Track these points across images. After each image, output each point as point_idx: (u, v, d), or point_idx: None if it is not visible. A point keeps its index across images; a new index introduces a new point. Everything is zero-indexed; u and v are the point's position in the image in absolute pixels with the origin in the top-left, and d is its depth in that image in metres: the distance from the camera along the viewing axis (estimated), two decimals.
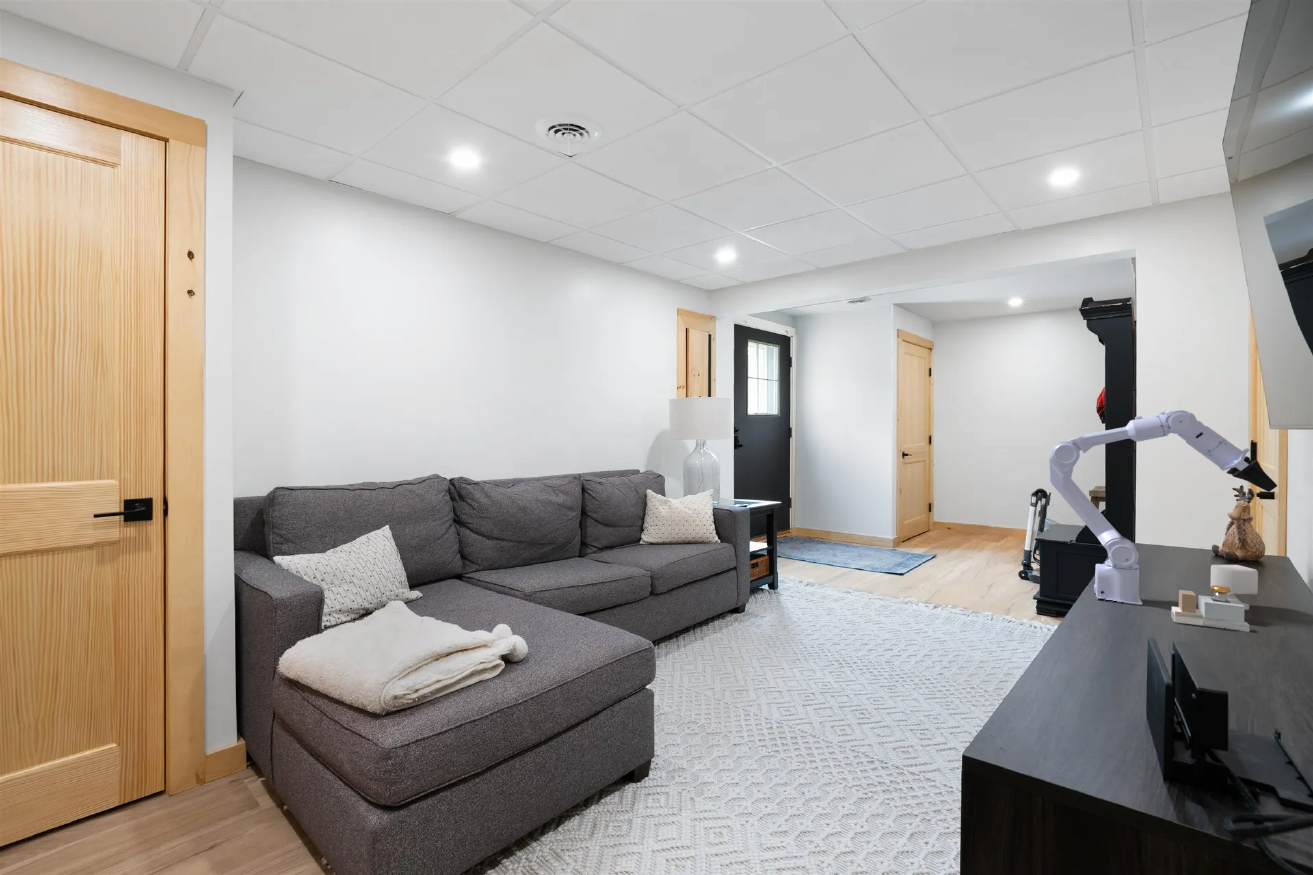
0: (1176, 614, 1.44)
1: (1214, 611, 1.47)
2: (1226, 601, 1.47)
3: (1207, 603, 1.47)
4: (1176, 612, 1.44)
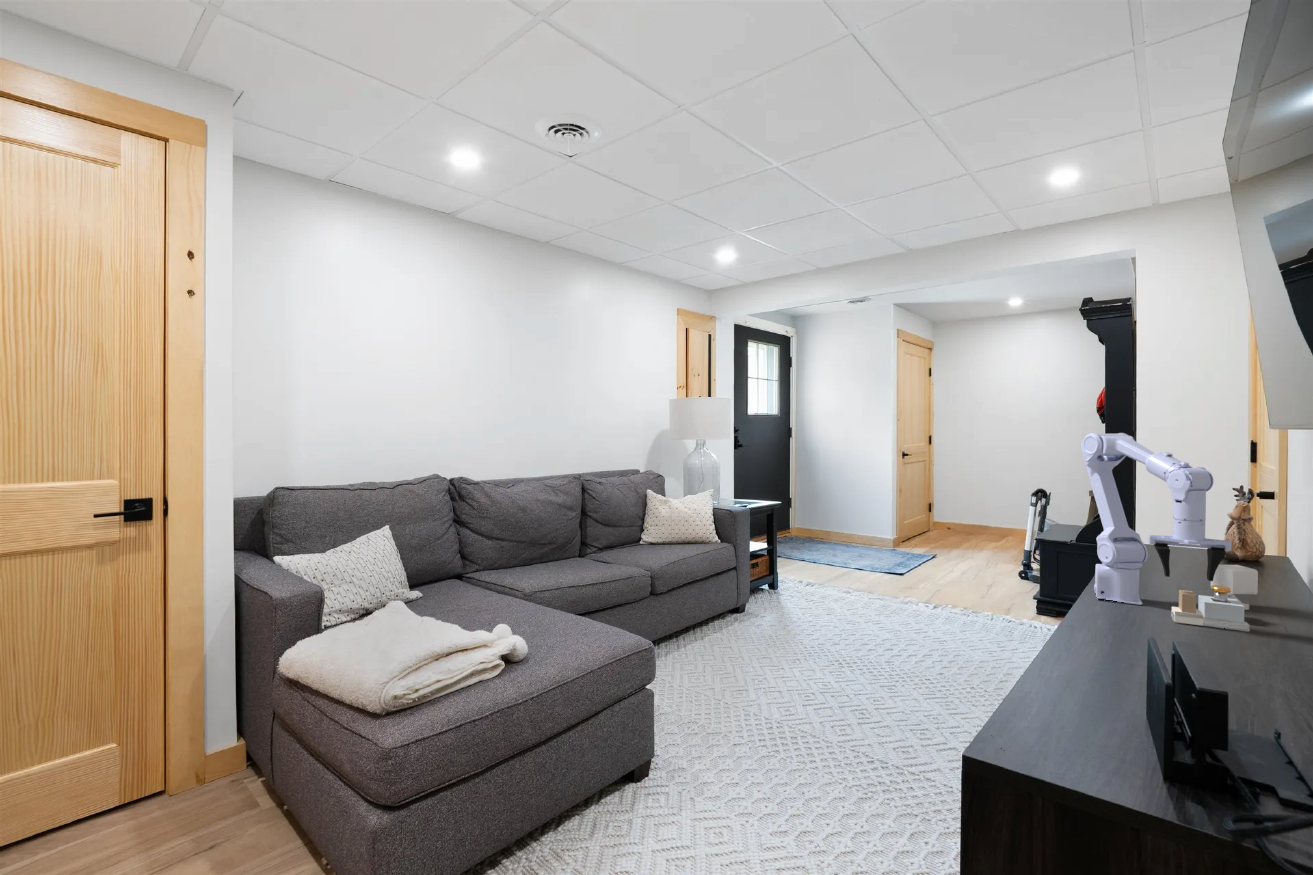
0: (1176, 614, 1.44)
1: (1214, 611, 1.47)
2: (1226, 601, 1.47)
3: (1207, 603, 1.47)
4: (1176, 612, 1.44)
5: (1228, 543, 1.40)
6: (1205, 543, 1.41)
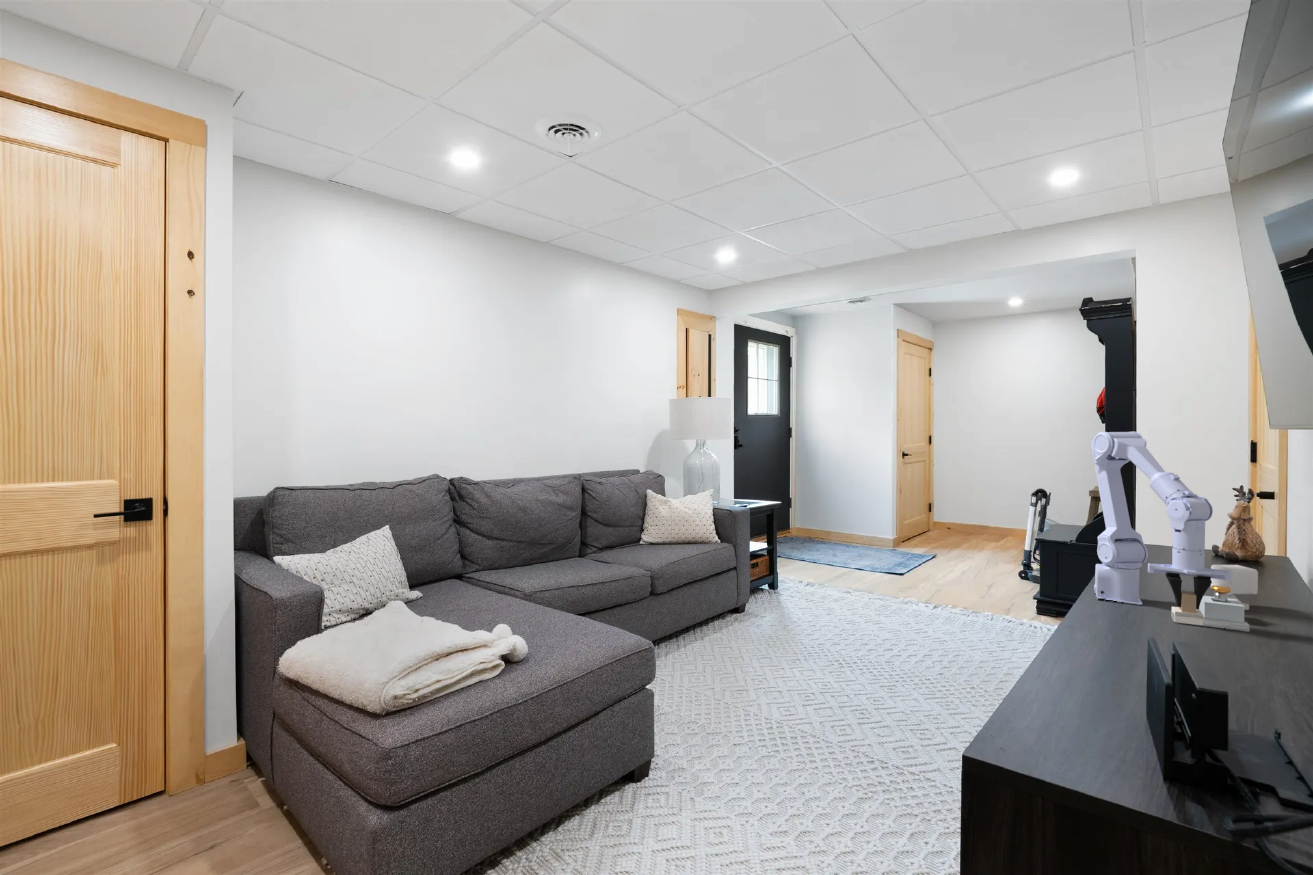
0: (1176, 614, 1.44)
1: (1214, 611, 1.47)
2: (1226, 601, 1.47)
3: (1207, 603, 1.47)
4: (1176, 612, 1.44)
5: (1227, 573, 1.40)
6: (1204, 573, 1.41)
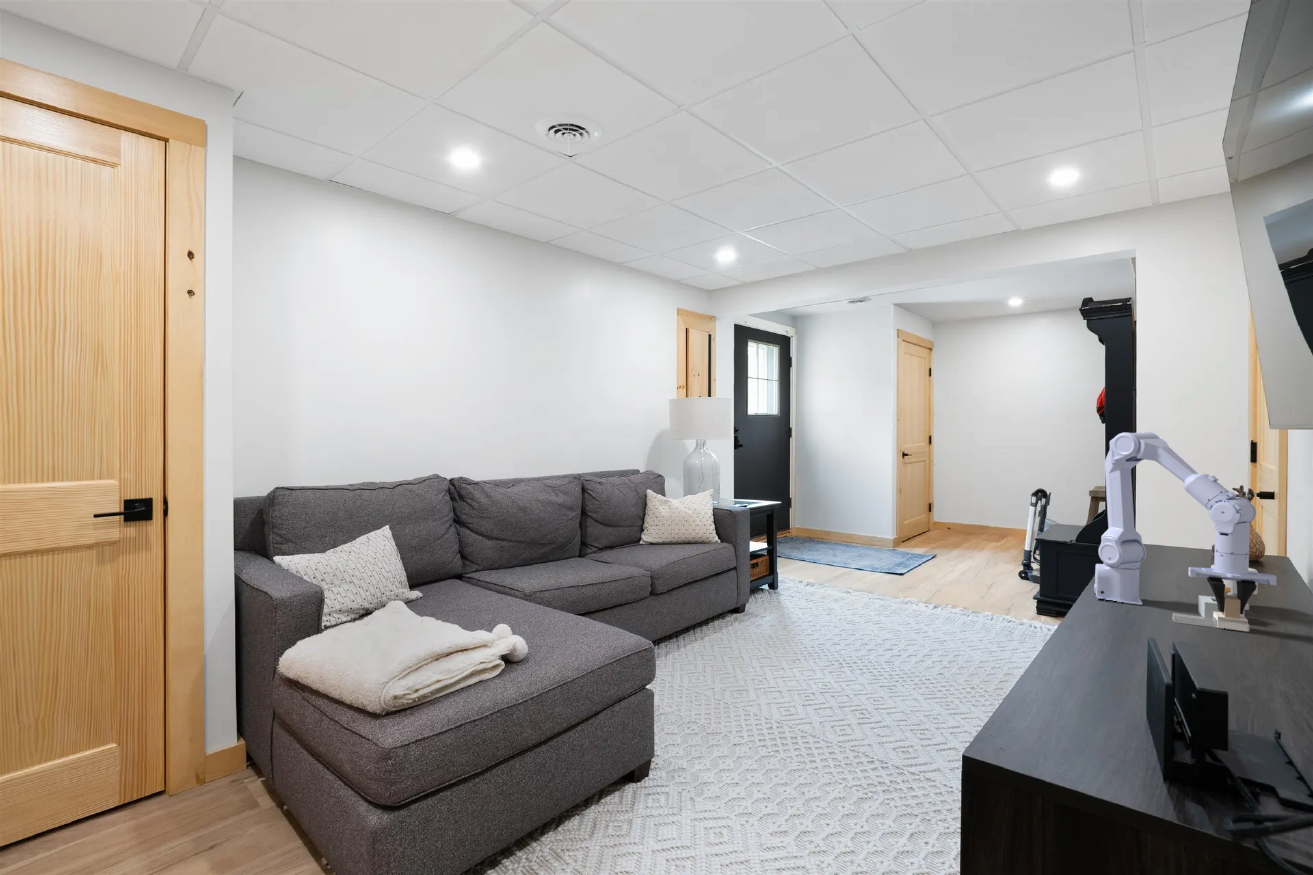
0: (1219, 619, 1.40)
1: (1214, 611, 1.47)
2: None
3: (1207, 603, 1.47)
4: (1219, 617, 1.40)
5: (1273, 577, 1.36)
6: (1249, 577, 1.37)
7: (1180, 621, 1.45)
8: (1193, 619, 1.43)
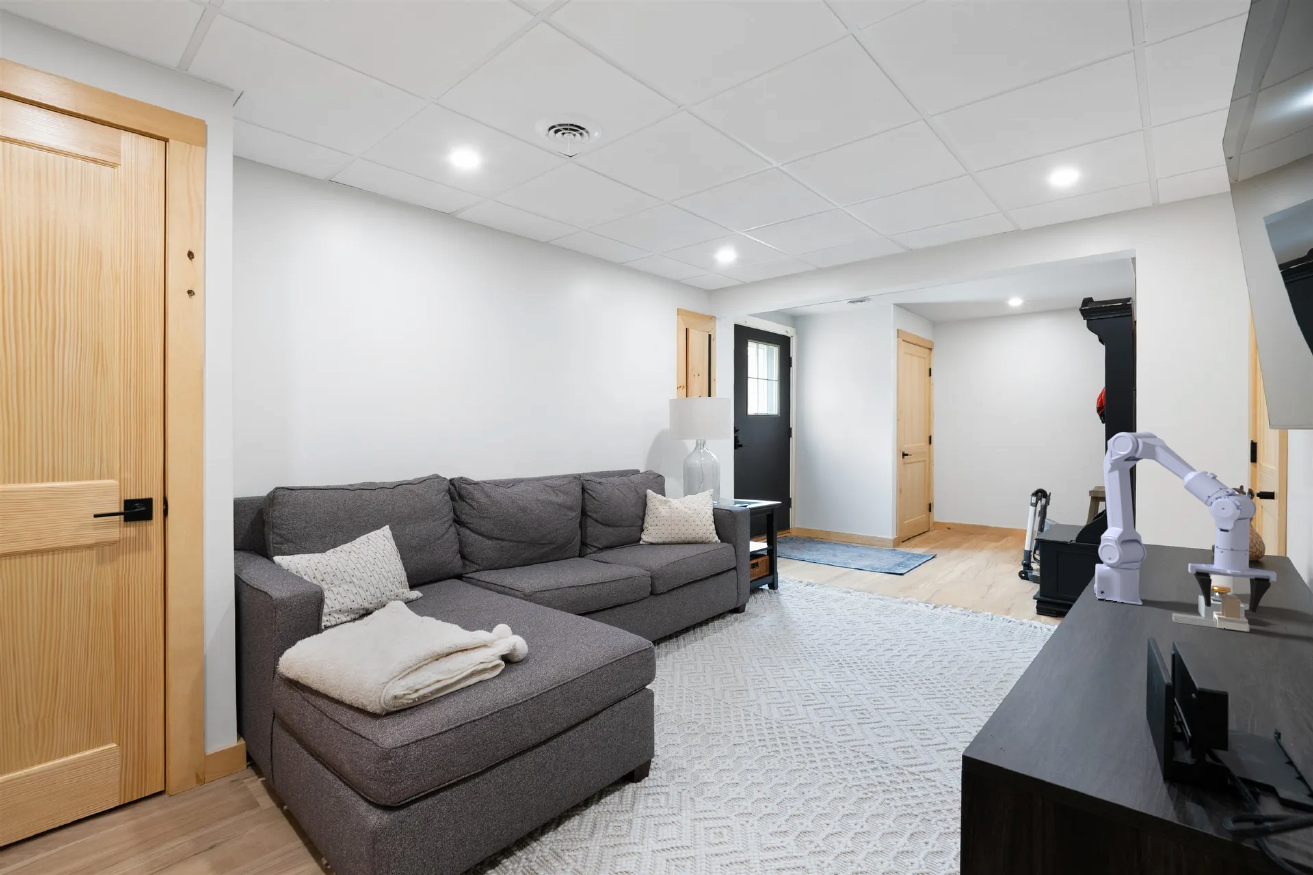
0: (1219, 619, 1.40)
1: (1214, 611, 1.47)
2: None
3: None
4: (1219, 617, 1.40)
5: (1273, 574, 1.36)
6: (1249, 573, 1.37)
7: (1180, 621, 1.45)
8: (1193, 619, 1.43)
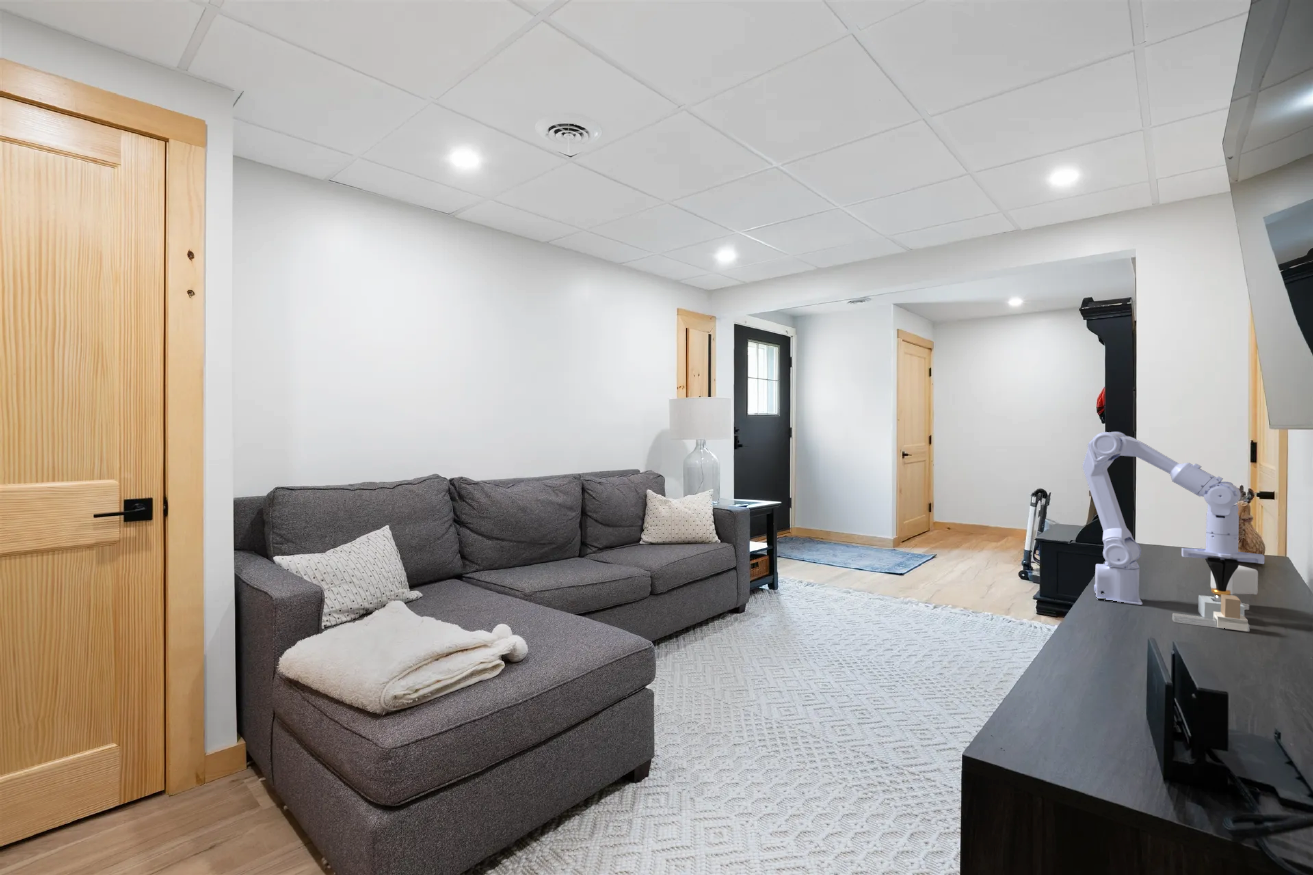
0: (1219, 619, 1.40)
1: (1214, 611, 1.47)
2: None
3: (1207, 603, 1.47)
4: (1219, 617, 1.40)
5: (1261, 557, 1.44)
6: (1238, 556, 1.45)
7: (1180, 621, 1.45)
8: (1193, 619, 1.43)
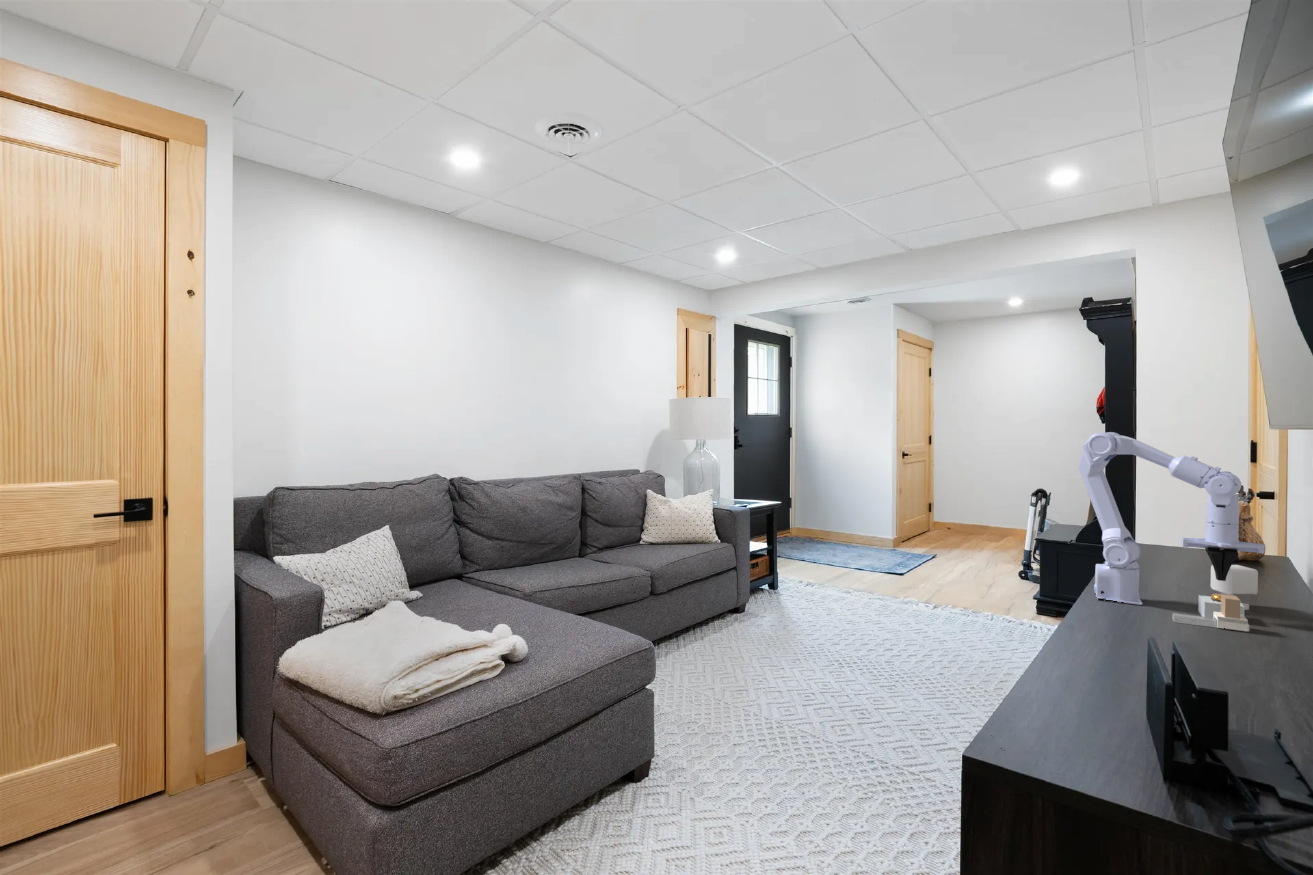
0: (1219, 619, 1.40)
1: (1214, 611, 1.47)
2: None
3: (1207, 603, 1.47)
4: (1219, 617, 1.40)
5: (1261, 546, 1.44)
6: (1238, 546, 1.45)
7: (1180, 621, 1.45)
8: (1193, 619, 1.43)
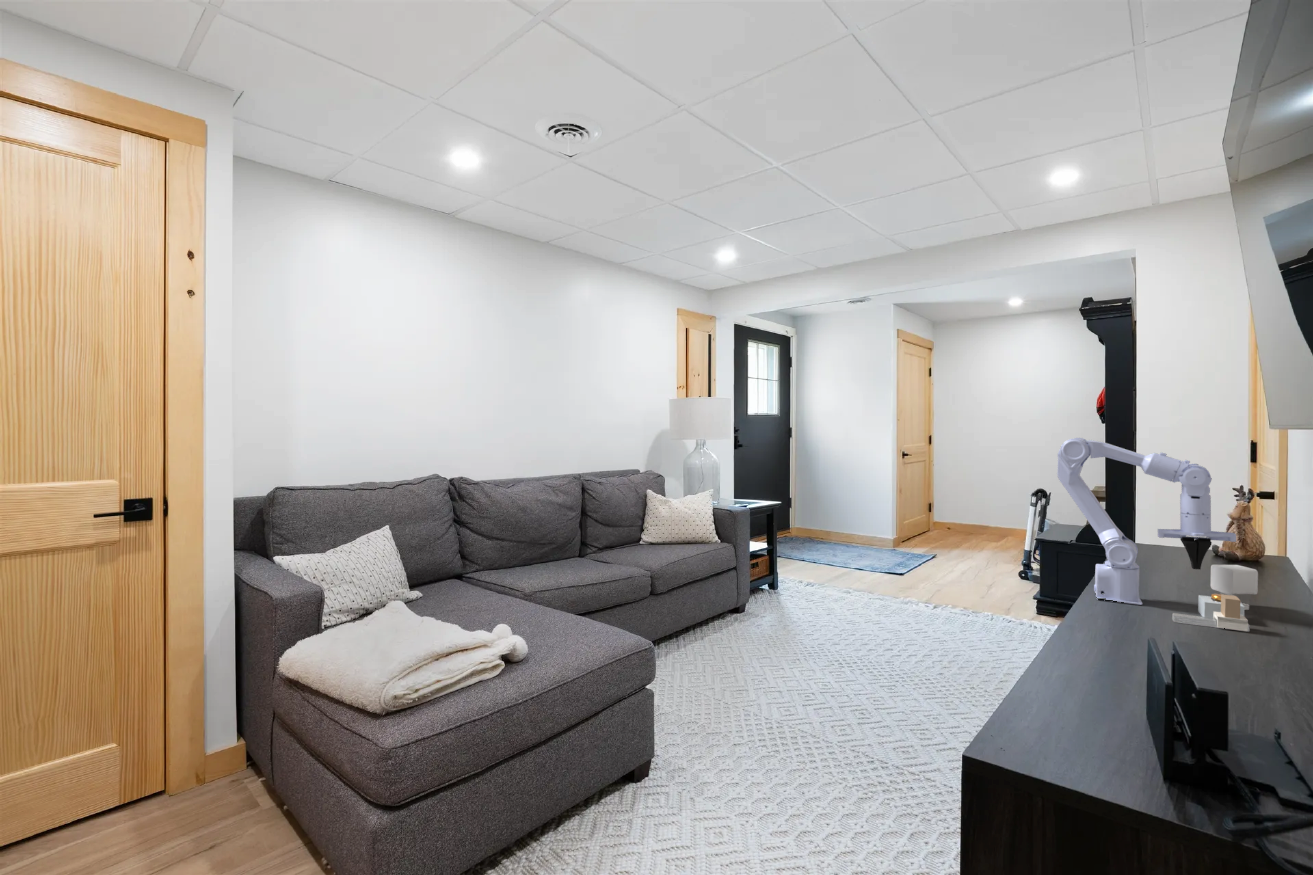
0: (1219, 619, 1.40)
1: (1214, 611, 1.47)
2: None
3: (1207, 603, 1.47)
4: (1219, 617, 1.40)
5: (1233, 535, 1.49)
6: (1211, 535, 1.50)
7: (1180, 621, 1.45)
8: (1193, 619, 1.43)
